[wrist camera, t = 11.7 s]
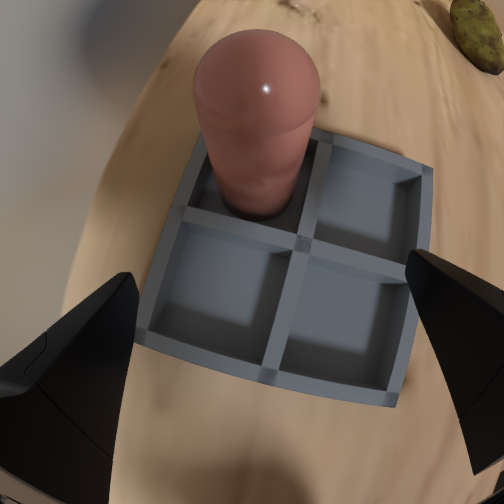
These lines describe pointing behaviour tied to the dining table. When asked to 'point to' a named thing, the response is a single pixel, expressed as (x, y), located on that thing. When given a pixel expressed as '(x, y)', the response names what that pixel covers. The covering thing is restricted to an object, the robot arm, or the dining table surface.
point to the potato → (478, 34)
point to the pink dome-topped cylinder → (256, 118)
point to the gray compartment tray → (296, 275)
